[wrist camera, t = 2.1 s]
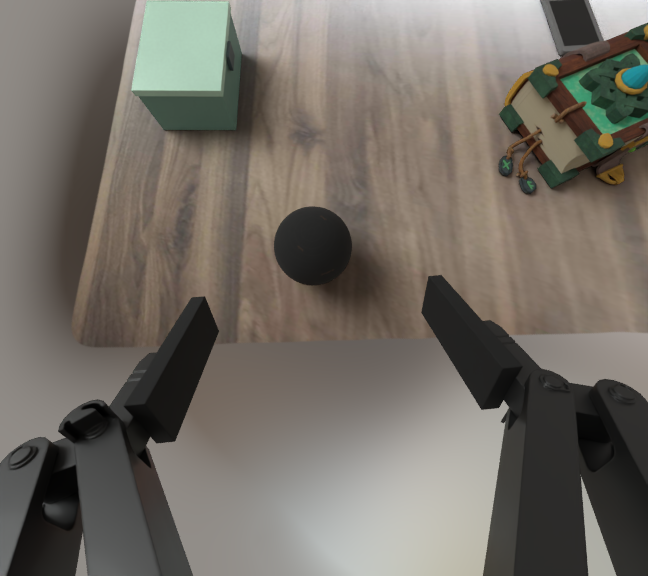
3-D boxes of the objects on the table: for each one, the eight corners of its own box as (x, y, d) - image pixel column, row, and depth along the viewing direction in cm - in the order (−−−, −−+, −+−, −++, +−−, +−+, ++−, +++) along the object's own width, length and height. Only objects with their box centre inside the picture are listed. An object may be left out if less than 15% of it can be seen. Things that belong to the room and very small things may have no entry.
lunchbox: (240, 131, 42) (224, 90, 35) (159, 130, 42) (127, 90, 35) (245, 52, 45) (231, 1, 38) (170, 51, 45) (143, 0, 38)
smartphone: (603, 53, 46) (607, 49, 45) (559, 56, 45) (563, 51, 45) (580, -9, 48) (583, -14, 48) (538, -7, 48) (541, -12, 48)
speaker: (301, 216, 39) (294, 176, 29) (359, 245, 38) (371, 214, 28) (268, 271, 37) (249, 248, 27) (328, 303, 36) (330, 290, 27)
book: (532, 224, 39) (603, 186, 29) (462, 119, 43) (505, 54, 33) (666, 161, 41) (773, 106, 32) (589, 67, 45) (664, -8, 35)
